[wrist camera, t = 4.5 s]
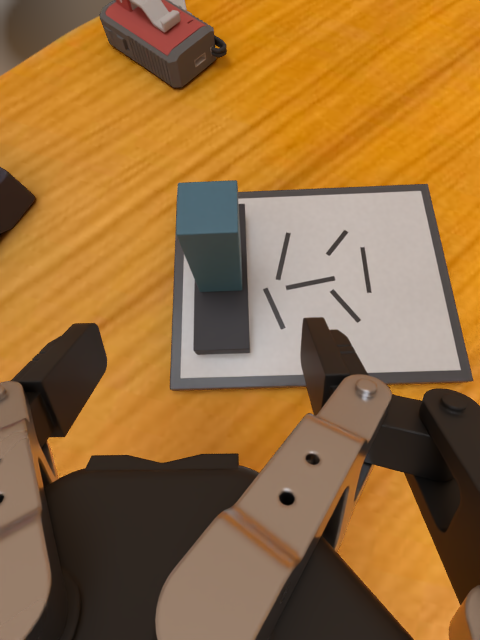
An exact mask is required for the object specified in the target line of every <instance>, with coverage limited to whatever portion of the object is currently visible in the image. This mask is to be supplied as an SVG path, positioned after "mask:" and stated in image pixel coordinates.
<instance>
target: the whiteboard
mask: <svg viewBox="0 0 480 640" xmlns="http://www.w3.org/2000/svg"><path fill="white" fill-rule="evenodd" d="M238 204H245V221H246V250H247V279H248V308H249V337H250V353H239V354H206V355H197V354H196V353H195V352H194V351H193V342H194V284H195V279H194V277H193V274H192V272H191V269H190V267H189V265H188V262H187V260H186V257H185V255H184V253H183V250H182V248H181V245H180V243H179V241H178V238H177V236H176V238H175V265H174V292H173V318H172V345H171V372H170V390H173V391H179V390H214V389H250V388H285V387H307V386H306V382H305V379H304V375H303V371H302V367H301V358H300V351H301V337H302V323H303V318H309V317H323V318H324V319H325V321H326V323H327V325H328V328H329V330H335V329H338V330H339V331H341V332H342V333H343V334H345V335H346V336H347V337H348V339H349V341H350V342H351V344H352V346H353V348H354V350H355V351H356V353H357V355H358V357H359V359H360V361H361V362H362V364H363V366H364V368H365V370H366V371H367V373H368V375H369V376H372V377H375V378H377V379H379V380H381V381H382V382H384V383H385V384H386V385H392V384H427V383H462V382H470V381H473V378H472V373H471V369H470V365H469V360H468V356H467V352H466V347H465V343H464V339H463V334H462V330H461V326H460V322H459V317H458V313H457V309H456V304H455V300H454V296H453V291H452V287H451V283H450V278H449V274H448V270H447V266H446V261H445V257H444V253H443V248H442V244H441V240H440V235H439V231H438V227H437V222H436V218H435V214H434V210H433V205H432V201H431V197H430V192H429V188H428V184H415V185H392V186H369V187H346V188H322V189H299V190H276V191H253V192H238ZM176 219H177V211H176Z"/></svg>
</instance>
